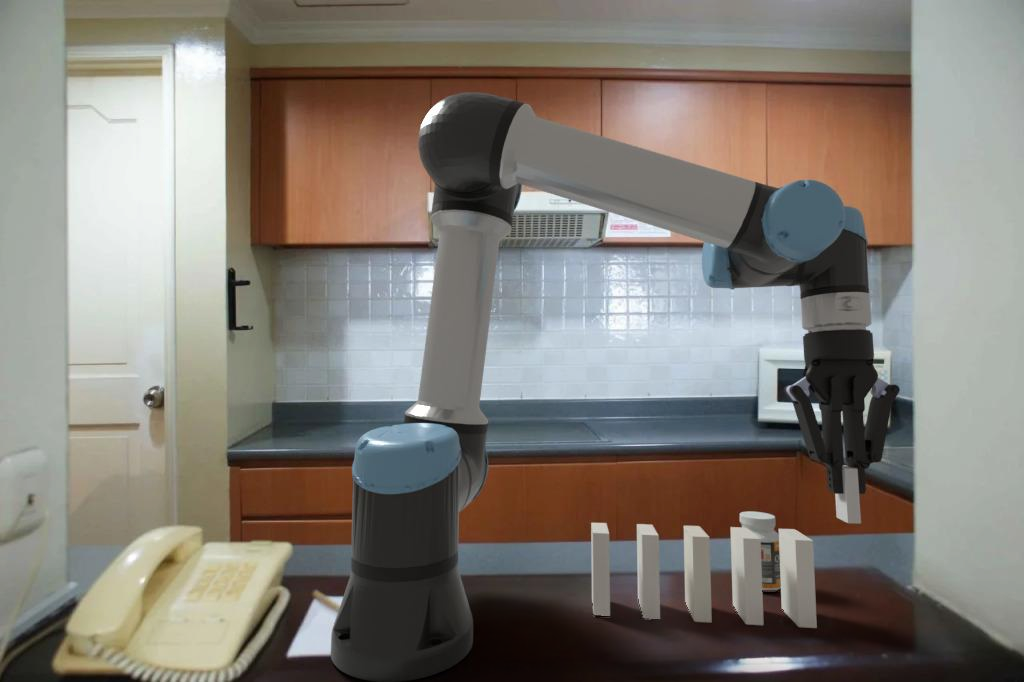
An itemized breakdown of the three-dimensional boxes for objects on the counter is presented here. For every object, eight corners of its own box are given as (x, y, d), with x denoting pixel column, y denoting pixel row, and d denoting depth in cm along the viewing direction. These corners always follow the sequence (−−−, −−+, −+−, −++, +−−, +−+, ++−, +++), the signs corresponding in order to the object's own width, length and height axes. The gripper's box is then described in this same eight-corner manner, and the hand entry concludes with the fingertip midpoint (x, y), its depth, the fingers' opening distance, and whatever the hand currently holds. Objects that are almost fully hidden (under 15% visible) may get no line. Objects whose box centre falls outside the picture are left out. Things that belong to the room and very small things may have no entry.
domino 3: (694, 621, 62) (692, 536, 63) (685, 604, 67) (683, 525, 68) (711, 622, 62) (709, 537, 63) (701, 605, 67) (699, 526, 68)
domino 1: (593, 616, 64) (592, 533, 65) (591, 599, 69) (591, 522, 70) (610, 617, 64) (609, 533, 64) (607, 600, 68) (606, 523, 69)
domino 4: (746, 624, 62) (743, 538, 63) (732, 606, 67) (730, 527, 68) (763, 625, 62) (760, 538, 62) (748, 607, 67) (746, 527, 67)
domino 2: (643, 619, 63) (642, 534, 64) (637, 602, 68) (636, 524, 69) (660, 619, 63) (658, 535, 64) (653, 602, 68) (652, 524, 69)
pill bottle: (788, 596, 70) (785, 521, 71) (743, 592, 71) (740, 518, 72) (775, 580, 76) (773, 511, 77) (734, 577, 77) (732, 509, 78)
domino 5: (798, 627, 61) (795, 540, 62) (781, 609, 66) (778, 528, 67) (816, 628, 61) (812, 540, 62) (798, 609, 66) (794, 529, 67)
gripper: (795, 328, 63) (806, 527, 61) (910, 325, 61) (926, 530, 59) (771, 334, 70) (780, 512, 68) (873, 332, 69) (886, 514, 67)
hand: (848, 520), depth 64 cm, fingers closed
